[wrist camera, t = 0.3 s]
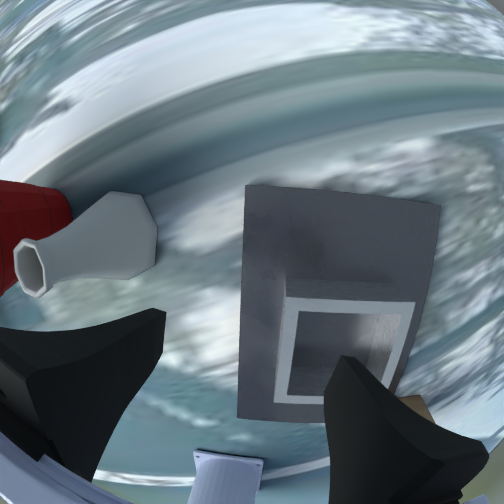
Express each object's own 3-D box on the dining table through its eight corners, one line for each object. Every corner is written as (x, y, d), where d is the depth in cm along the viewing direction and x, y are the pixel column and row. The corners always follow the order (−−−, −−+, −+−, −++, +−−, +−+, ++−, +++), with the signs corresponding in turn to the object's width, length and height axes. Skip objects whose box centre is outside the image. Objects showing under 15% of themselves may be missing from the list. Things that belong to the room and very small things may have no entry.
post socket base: (380, 412, 22) (391, 444, 18) (238, 410, 23) (231, 445, 19) (434, 204, 17) (467, 210, 13) (247, 185, 19) (237, 184, 14)
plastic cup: (63, 298, 23) (-23, 353, 11) (13, 222, 22) (-72, 245, 10) (116, 221, 20) (-6, 257, 9) (54, 139, 19) (-50, 133, 8)
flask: (151, 180, 19) (56, 182, 10) (168, 274, 21) (93, 337, 11) (81, 200, 20) (-12, 215, 11) (97, 281, 22) (18, 329, 12)
